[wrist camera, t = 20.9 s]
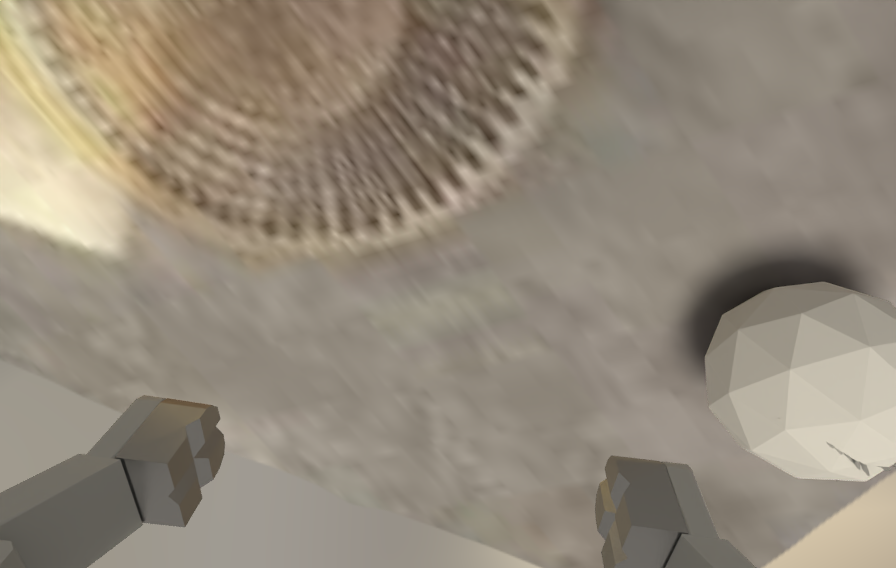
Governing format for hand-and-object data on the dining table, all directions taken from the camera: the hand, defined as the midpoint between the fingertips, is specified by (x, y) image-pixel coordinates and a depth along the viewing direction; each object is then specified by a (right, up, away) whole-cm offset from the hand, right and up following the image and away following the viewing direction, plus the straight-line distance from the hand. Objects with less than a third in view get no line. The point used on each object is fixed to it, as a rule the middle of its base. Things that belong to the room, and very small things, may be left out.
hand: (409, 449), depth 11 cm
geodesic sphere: (+27, 0, +31) cm, 41 cm away
